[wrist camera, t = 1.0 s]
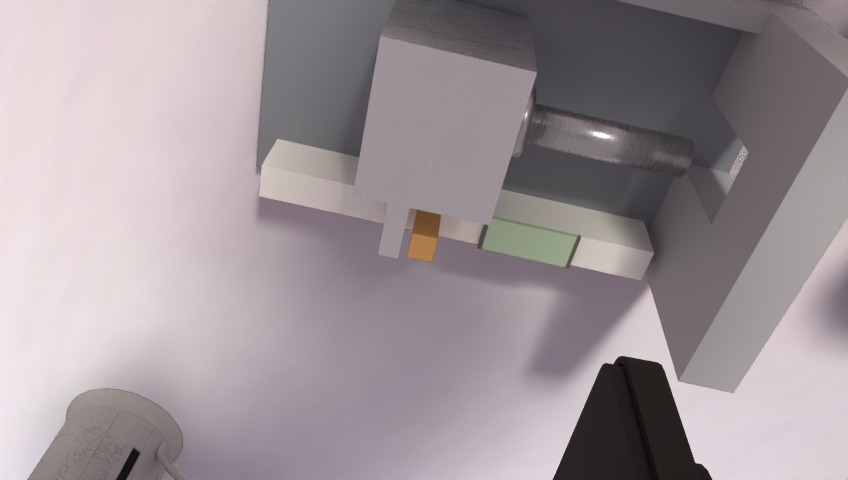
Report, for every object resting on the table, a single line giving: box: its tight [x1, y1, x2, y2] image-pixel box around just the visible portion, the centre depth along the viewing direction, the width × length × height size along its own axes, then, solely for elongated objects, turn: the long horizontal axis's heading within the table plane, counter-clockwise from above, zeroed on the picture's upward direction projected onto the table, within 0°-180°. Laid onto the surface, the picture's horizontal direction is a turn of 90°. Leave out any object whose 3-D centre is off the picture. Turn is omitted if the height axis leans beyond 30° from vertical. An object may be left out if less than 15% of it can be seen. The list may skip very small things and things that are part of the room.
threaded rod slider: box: [353, 0, 694, 259], centre depth 32 cm, size 11×14×7 cm
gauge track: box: [256, 0, 848, 393], centre depth 31 cm, size 14×24×11 cm, turn 78°
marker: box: [407, 209, 441, 262], centre depth 34 cm, size 1×1×2 cm
